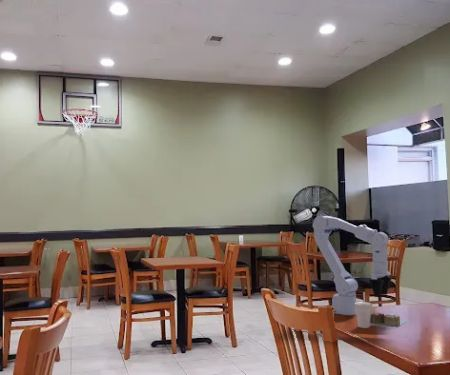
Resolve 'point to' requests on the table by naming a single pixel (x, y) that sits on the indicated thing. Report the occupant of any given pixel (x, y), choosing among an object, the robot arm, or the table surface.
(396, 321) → the beech gear
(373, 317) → the walnut gear
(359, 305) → the smoothie
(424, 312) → the table surface
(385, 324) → the gear board
